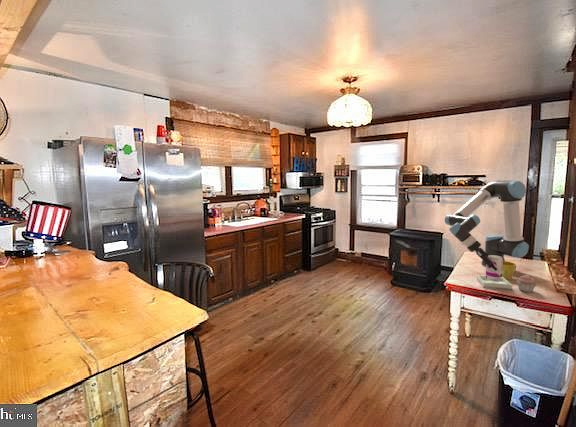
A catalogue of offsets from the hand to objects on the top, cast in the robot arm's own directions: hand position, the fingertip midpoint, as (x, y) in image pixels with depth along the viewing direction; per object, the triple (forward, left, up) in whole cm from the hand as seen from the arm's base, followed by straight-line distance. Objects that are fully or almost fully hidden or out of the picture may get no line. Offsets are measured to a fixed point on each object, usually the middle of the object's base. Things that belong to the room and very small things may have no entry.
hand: (500, 271), depth 180 cm
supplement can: (-1, -3, -6) cm, 7 cm away
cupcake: (+5, +11, -9) cm, 15 cm away
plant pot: (-18, +9, -9) cm, 22 cm away
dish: (-1, -3, -9) cm, 9 cm away
